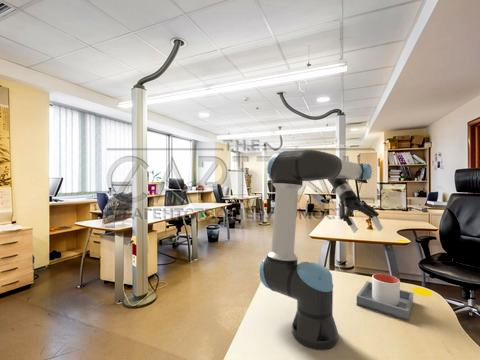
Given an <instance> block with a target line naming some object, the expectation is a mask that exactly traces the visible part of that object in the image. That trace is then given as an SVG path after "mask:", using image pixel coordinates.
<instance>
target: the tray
mask: <svg viewBox="0 0 480 360" xmlns="http://www.w3.org/2000/svg"><path fill="white" fill-rule="evenodd" d="M413 304H414V292H411V291H407V290H403V289H400V302H399V304H398V305H397V306H393V305H390V304H386V303H383V302H379V301H376V300H374V299H373V298H372V281H366V282H365V284H364V285H363V286H362V288H361V289H360V290H359V292H358V294H356V306H357V307H361V308H364V309H367V310H371V311H373V312H377V313H380V314H382V315H383V314H384V315H386V316H389V317H392V318H395V319H398V320H402V321H404V322H409V321H410V318H411V313H412V309H413Z"/></svg>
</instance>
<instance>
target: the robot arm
mask: <svg viewBox="0 0 480 360" xmlns="http://www.w3.org/2000/svg"><path fill="white" fill-rule="evenodd" d="M266 169H267V170H266V171H267V174H268V178H269V179H270V180H271V181H272V183H271V184H272V186H273V187H274V188H275V194H274V195H275V198H274V209H273V210H274V211H273V224H272V226H273V227H272V237H271V250H269V252H268V253H267V254H266V257H264V258H263V259H262V261H261V263H260V265H259V278H260V281H261V283H262V285H263V286H264V287H265V288H268V289H269V290H270V291H272V292H276V293H279V294H281V295H284V296H286V297H288V298H290V299H291V298H292V299H293V300H296V303H297V304H296V306H297V307H296V312H295V314H294V318H293V320H292V324H291V325H292V326H291V329H292V330H291V333H292V336H293V337H294V339H295V340H296V341H297V342H298V343H299V344H301V345H303V346H305V347H308V348H310V349H314V350H328V349H329V350H330V349H332V348H334V347H335V346H336V345H337V344H338V342H339V330H338V327H337V324H336V321H335V318H334V315H333V310H334V309H333V305H334V302H333V301H334V300H333V298H334V295H333V294H334V289H333V288H334V284H333V283H334V282H333V274H332V273H331V272H330V270H329V269H328V268H327V267H326V266H324V265H322V264H319V263H316V262H312V261H311V262H309V261H301V262H300V263H298V260H299V259H298V256H297V255H296V253H295V242H296V229H297V228H296V227H297V214H298V211H297V209H298V199H299V198H298V197H299V195H298V194H299V190H300V189H301V188H303V183H304V182H315V181H323V180H327V181H328V182H329V183H330V185H331V186H332V188H333V190H334V191H335V193H336V195H337V196H338V198H339V200H340V201H339V203H338V207H339V218H340V220H343V222H346V224H347V225H348V226H349V227H350V229H351V230H352V232H353V233H354V234H355V233H357V231H358V230H359V228H358V226H357V225H356V223H355V222H354V220H353V218H352V217H351V216H350V215H351V211H357V212H361V213H362V214H364V215H366V216H367V217H369V218H370V221H371V222H372V224H373V225H374V227H375V228H376V230H377V231H378V232H381V231H382V230H383V229H384V226H383V225H382V224H381V221H380V220H379V218H378V216H379V212H377V211H376V210H375V209H373V208H372V207H371V206H370V205H369V204H367V202H365V200H363V199H362V200H361V201H359V200H358V196H357V195H356V193H355V191H354V190H353V188H352V187H351V185H350V184H349V183H348V180H349V181H350V180H351V181H352V180H357V181H365V180H366V181H369V180H370V179H371V177H372V175H373V174H372V173H373V172H372V171H373V168H372V165H371V164H370V163H365V162H364V163H356V162H353V161H347V160H344V159H340V158H339V156H337V155H335V154H332V153H328V152H325V151H321V150H315V149H301V150H284V151H281V152H275V153H274V154H273V155H272V156H271V157H270V158H269V160H268V163H267V168H266ZM345 207H346V210H345Z"/></svg>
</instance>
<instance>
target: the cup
mask: <svg viewBox="0 0 480 360" xmlns="http://www.w3.org/2000/svg"><path fill="white" fill-rule="evenodd" d="M371 279H372V281H371V282H372V298H373V299H374V300H376V301H379V302H383V303H386V304H390V305H393V306H397V305H398V304H399V302H400V290H401V285H400V284H401V281H400V279H399V278H397V277H396V276H394V275H391V274H387V273H375V274H372V276H371Z"/></svg>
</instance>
